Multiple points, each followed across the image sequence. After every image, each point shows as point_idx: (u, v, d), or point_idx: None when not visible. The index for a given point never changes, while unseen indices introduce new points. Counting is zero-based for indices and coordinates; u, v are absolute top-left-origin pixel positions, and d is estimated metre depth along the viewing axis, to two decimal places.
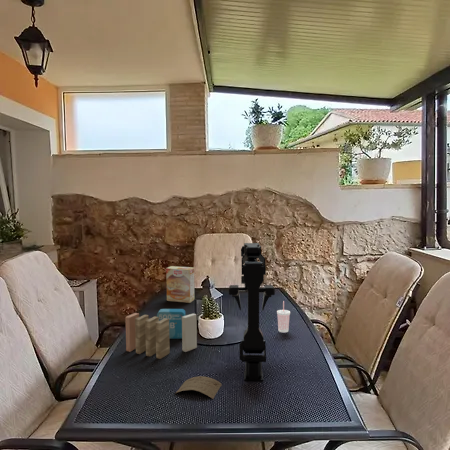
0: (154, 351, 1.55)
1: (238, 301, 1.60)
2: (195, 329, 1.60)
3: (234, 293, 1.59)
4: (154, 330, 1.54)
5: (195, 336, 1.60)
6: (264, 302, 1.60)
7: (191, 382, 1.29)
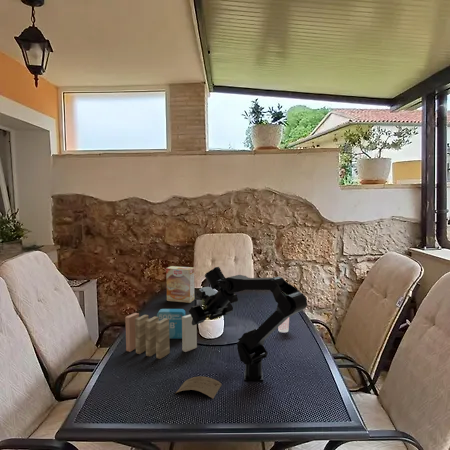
0: (154, 351, 1.55)
1: None
2: (195, 329, 1.60)
3: (201, 321, 1.42)
4: (154, 330, 1.54)
5: (195, 336, 1.60)
6: None
7: (191, 382, 1.28)
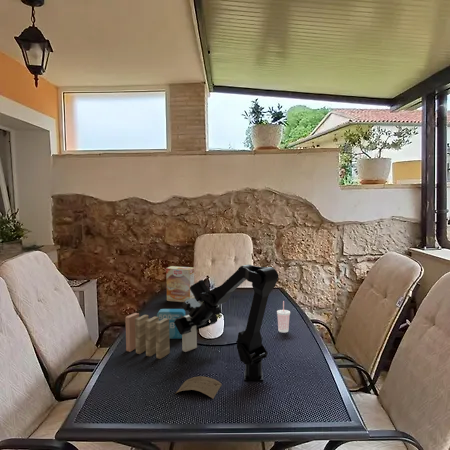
0: (154, 351, 1.55)
1: None
2: (195, 329, 1.60)
3: (186, 332, 1.49)
4: (154, 330, 1.54)
5: (195, 336, 1.60)
6: (200, 328, 1.59)
7: (191, 382, 1.28)
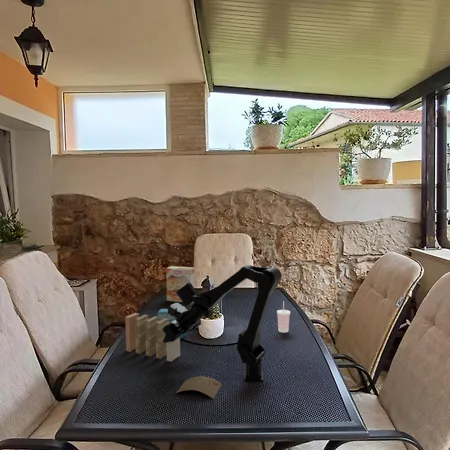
0: (154, 351, 1.55)
1: None
2: None
3: (176, 339, 1.41)
4: (154, 330, 1.54)
5: (179, 343, 1.52)
6: (185, 332, 1.53)
7: (191, 382, 1.28)
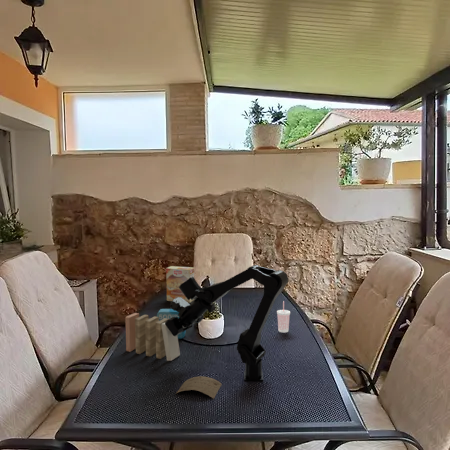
0: (154, 351, 1.55)
1: None
2: None
3: (178, 333, 1.40)
4: (154, 330, 1.54)
5: (177, 342, 1.53)
6: None
7: (191, 382, 1.28)
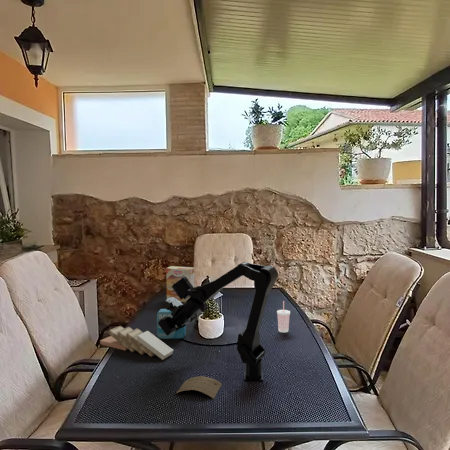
0: None
1: None
2: (157, 339, 1.57)
3: (171, 333, 1.42)
4: None
5: (163, 343, 1.56)
6: None
7: (191, 382, 1.28)
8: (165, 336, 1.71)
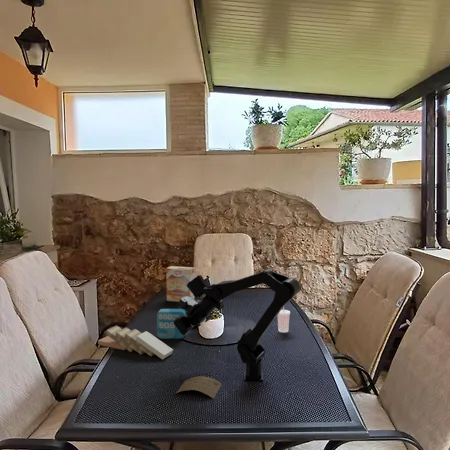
0: None
1: None
2: (157, 339, 1.57)
3: (187, 332, 1.38)
4: None
5: (162, 343, 1.56)
6: None
7: (191, 382, 1.28)
8: (165, 336, 1.71)
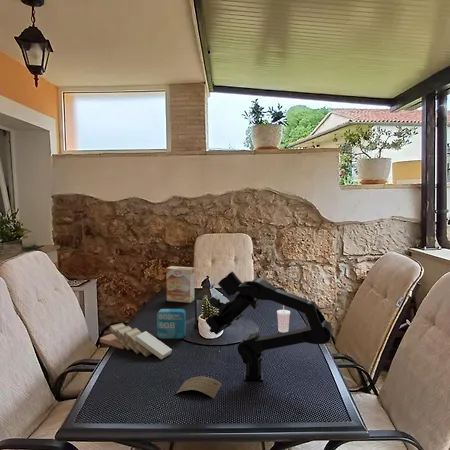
0: None
1: None
2: (156, 339, 1.57)
3: (220, 331, 1.32)
4: None
5: (161, 343, 1.56)
6: None
7: (191, 382, 1.28)
8: (165, 336, 1.71)
